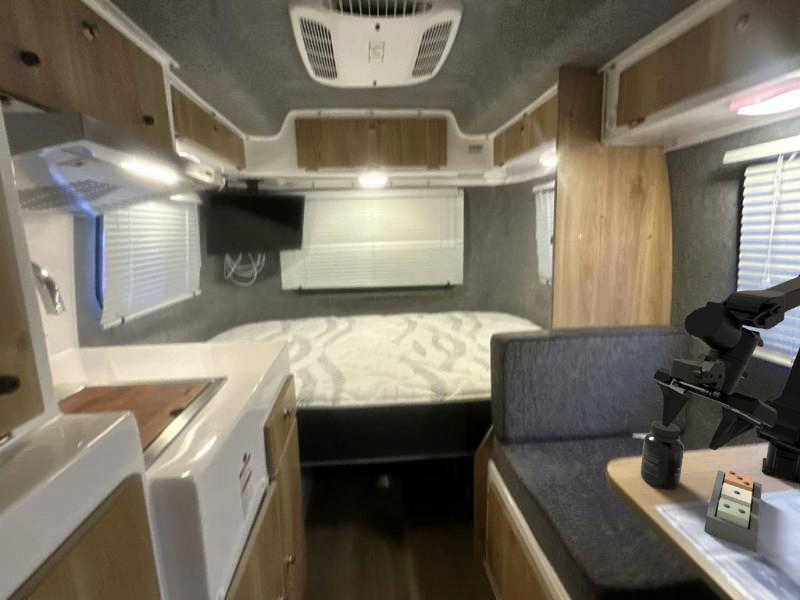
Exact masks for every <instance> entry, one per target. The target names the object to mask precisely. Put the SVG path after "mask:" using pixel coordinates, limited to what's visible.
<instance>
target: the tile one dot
mask: <svg viewBox="0 0 800 600" xmlns="http://www.w3.org/2000/svg"><path fill="white" fill-rule="evenodd" d="M751 497H752V492H750V491H747V490H744V489H741V488H738V487H735V486H732V485H729V484H726V483H724V484H723V488H722V493H721V498H723V499H726V500H729V501H732V502H734V503H737V504H740V505H743V506H746V507H749V508H750V505H751Z"/></svg>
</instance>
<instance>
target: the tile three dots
mask: <svg viewBox="0 0 800 600" xmlns="http://www.w3.org/2000/svg"><path fill="white" fill-rule="evenodd" d="M725 473H726V475H725V480H724V483H726V484H729V485H732V486H735V487H738V488H741V489H744V490H747V491H750V492H752V489H753V481H754V479H755V477H753V476H749V475H746V474H743V473H740V472H737V471H733V470H731V469H728V468H727V469H726V470H725Z"/></svg>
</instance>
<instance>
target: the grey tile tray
mask: <svg viewBox="0 0 800 600" xmlns="http://www.w3.org/2000/svg"><path fill="white" fill-rule="evenodd" d="M725 475H726V471H725V472H724V471H723V470H722V471H721V470H717V474H716V477H715V480H714V484H713V489H712V492H711V496H710V500H709V504H708V508H707V512H706V515H705V516H706V517H705V523H704V532H706V533H708V534H711V535H713V536H716V537H718V538H721V539H722V540H725V541H727V542H731V543H732V544H735V545H738V546H741V547H742V548H744V549H745V548H746V549H747V550H749V551H753V552H756V548H757V545H758V544H757V543H758V539H759V537H758V536H759V527H760V525H759V524H760V514H761V502H762V490H763V484H762V483H759V482H757V481H754V480H753V489H752V497H751V505H750V515H749V523H748V529H746V528H744V527H741V526H738V525H736V524H733V523H731V522H728V521H725V520H723V519H720V518H717V511H718V506H719V502H720V498H721V493H722V488H723V484H724V480H725Z"/></svg>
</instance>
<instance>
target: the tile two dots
mask: <svg viewBox="0 0 800 600" xmlns="http://www.w3.org/2000/svg"><path fill="white" fill-rule="evenodd" d="M749 515H750V508H749V507H746V506H743V505H740V504H737V503H734V502H732V501H729V500H726V499H723V498H720V502H719V506H718V511H717V518H720V519H723V520H725V521H728V522H731V523H733V524H736V525H738V526H741V527H744V528H746V529H748V523H749Z"/></svg>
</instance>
